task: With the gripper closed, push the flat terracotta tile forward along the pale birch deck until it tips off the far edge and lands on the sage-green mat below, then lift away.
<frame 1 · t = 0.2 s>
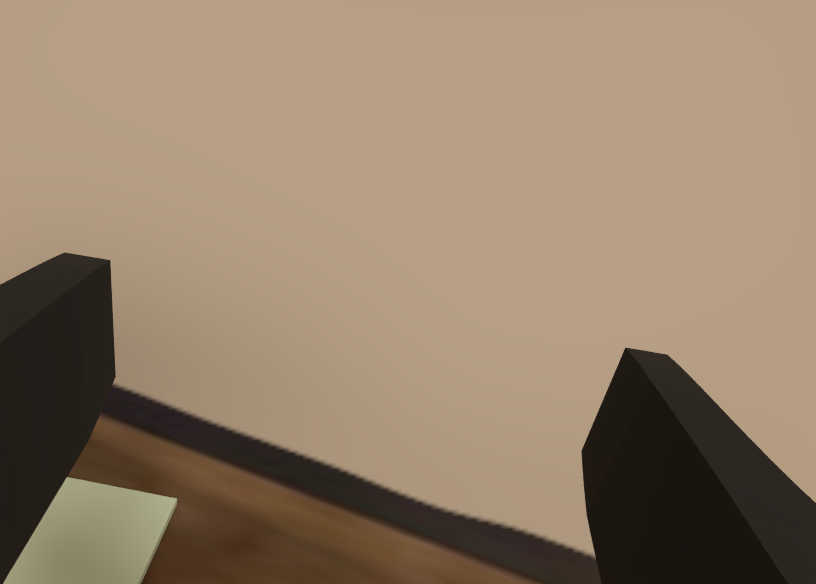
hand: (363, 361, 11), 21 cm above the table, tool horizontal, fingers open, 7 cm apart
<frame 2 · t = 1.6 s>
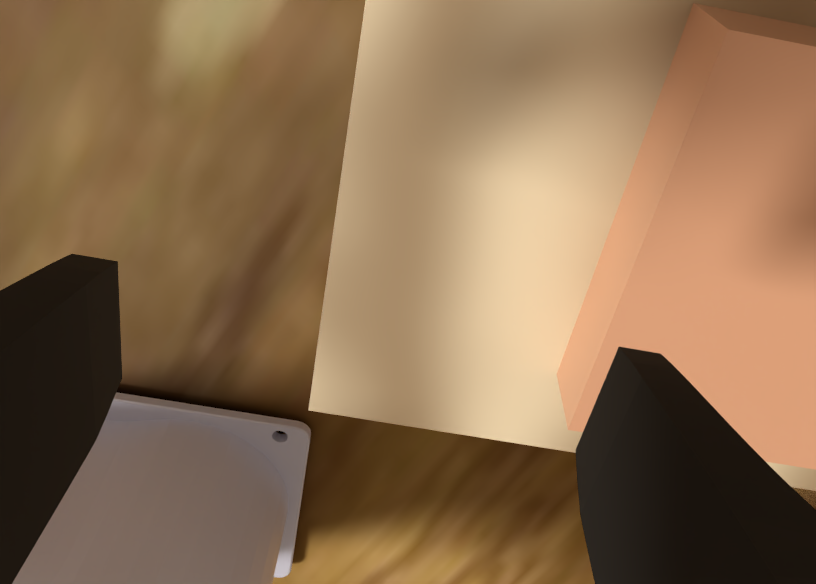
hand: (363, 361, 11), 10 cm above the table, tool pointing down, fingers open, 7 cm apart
deck: (658, 160, 20), on the table
tile: (746, 239, 16), point 4 cm above the table, touching deck
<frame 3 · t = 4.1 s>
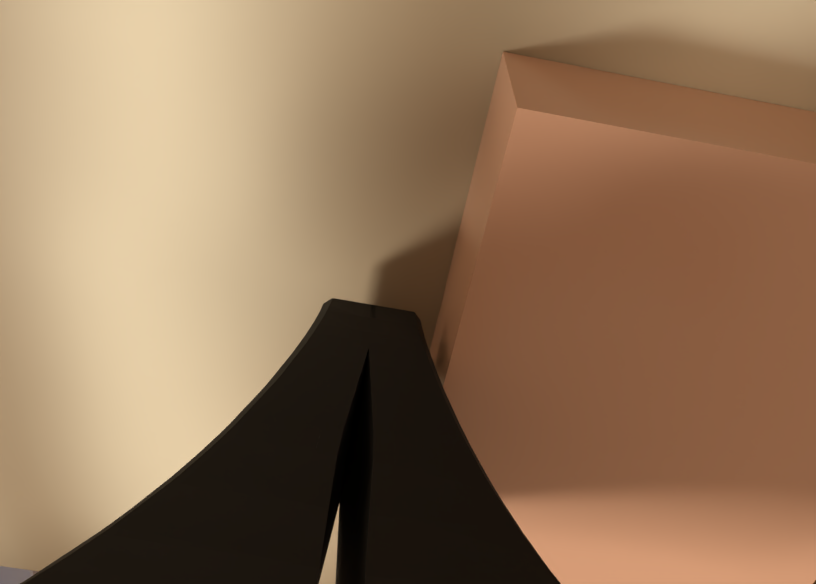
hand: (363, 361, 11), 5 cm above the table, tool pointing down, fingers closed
deck: (405, 217, 15), on the table
tile: (621, 379, 11), point 4 cm above the table, touching gripper
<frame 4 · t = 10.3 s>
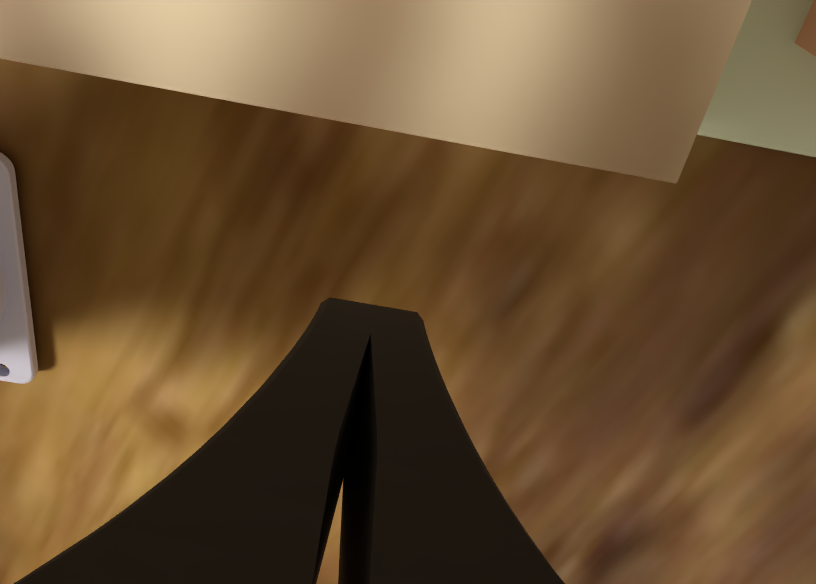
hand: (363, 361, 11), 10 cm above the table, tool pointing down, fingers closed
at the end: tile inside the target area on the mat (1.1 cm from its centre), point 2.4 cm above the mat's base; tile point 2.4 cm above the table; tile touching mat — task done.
